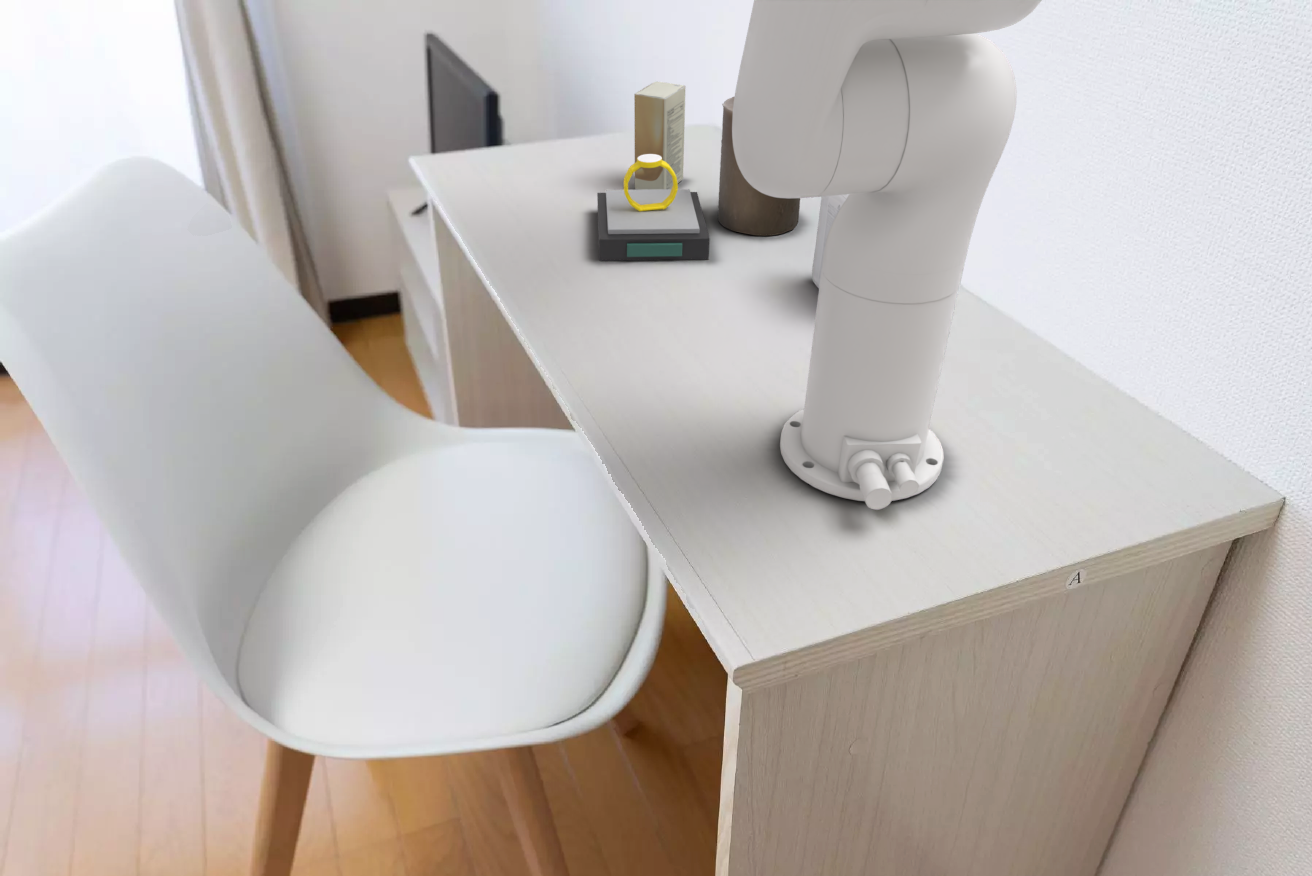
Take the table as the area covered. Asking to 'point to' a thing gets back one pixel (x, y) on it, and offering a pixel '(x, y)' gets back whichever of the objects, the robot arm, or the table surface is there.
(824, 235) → the photo printer
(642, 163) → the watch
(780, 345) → the table surface
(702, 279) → the table surface
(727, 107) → the pillar candle
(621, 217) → the scale
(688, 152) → the table surface
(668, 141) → the cosmetic box
